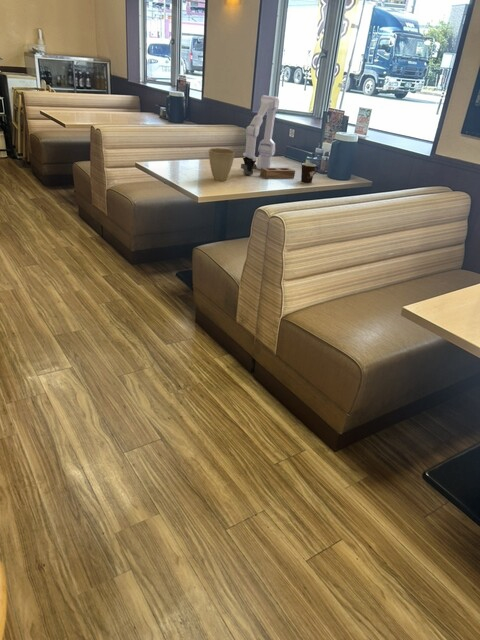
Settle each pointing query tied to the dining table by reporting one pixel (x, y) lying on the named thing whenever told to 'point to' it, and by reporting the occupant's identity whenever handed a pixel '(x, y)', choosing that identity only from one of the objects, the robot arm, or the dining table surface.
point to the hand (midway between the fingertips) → (248, 170)
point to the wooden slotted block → (277, 172)
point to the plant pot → (221, 162)
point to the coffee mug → (308, 172)
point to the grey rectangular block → (245, 167)
